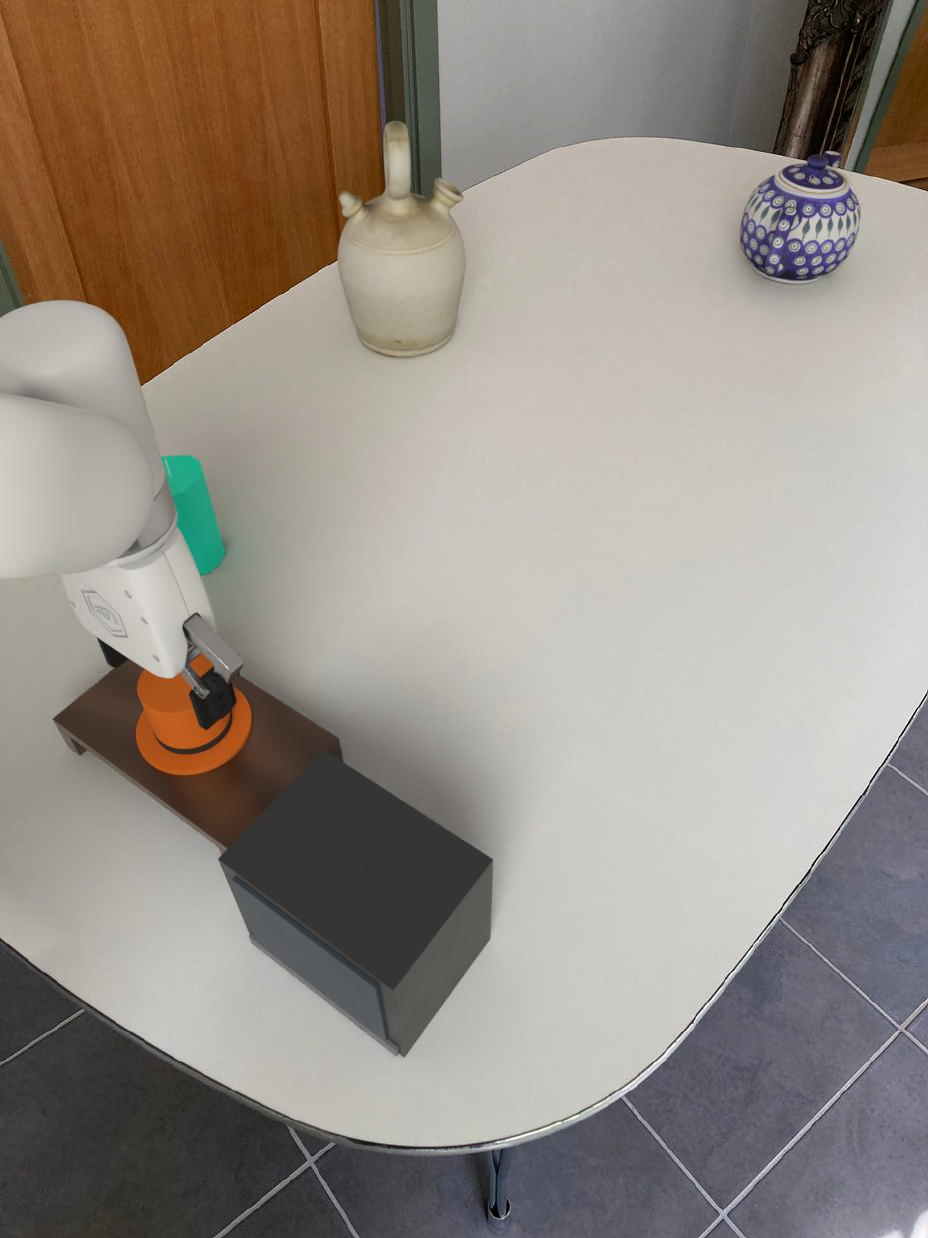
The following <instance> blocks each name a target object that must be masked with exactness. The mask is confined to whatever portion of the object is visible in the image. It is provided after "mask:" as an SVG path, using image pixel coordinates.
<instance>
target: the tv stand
mask: <svg viewBox="0 0 928 1238" xmlns="http://www.w3.org/2000/svg"><path fill="white" fill-rule="evenodd" d="M187 643H188V649H189V648H190V647H192V646H193V644H192V643H191V642H190V641H187ZM143 670H144V668H143V667H141V666H140V665H138V664H137V663H135V662H134V661H132V660H130V659H128V660H127V661H126V662H125V663H123V664H122V665H121V666H119V667H118V668H112V670H110V671H109V672H108V673H107V674H105V675H104V676H103V677H101V679H98V681H97V682H96V683H94V684H93V685H92V686H90V687H89V688H88V689H86V691H84V692H83V693H82V694H81V695H80V696H79V697H77V698H75V699H74V700H73V701H72V702H71V703H70V704H68V705H67V706H66V707H65V708H63V709H62V710H61V711H60V712H59V713H57V714H56V715H55V716H54V717H53V718H52V721H53V723H54V725H55V726H56V728H57V730H58V731H59V734H60V735H61V737H62V739H63V741H64V742H65V745H66V746H67V748H69V749H71V750H72V751H73V752H74V753H76V754H77V755H78V756H82V755H83V754H84V753H85V752H86V751H88V752H90V754H92V755H94V756H95V757H96V758H98V759H99V760H100V761H102V762H103V763H105V764H106V765H107V766H108V767H110V768H111V769H113V770H114V771H115V772H117V773H118V774H119V775H120V776H122V777H123V778H124V779H126V780H127V781H129V782H130V783H131V784H133V785H134V786H135V787H137V788H138V789H139V790H140V791H142V792H143V793H145V794H146V795H147V796H149V797H150V798H151V799H153V800H154V801H155V802H157V803H158V804H160V806H162V807H164V808H165V809H166V810H167V811H169V812H170V813H172V814H173V815H174V816H175V817H177V818H178V819H179V820H181V821H182V822H184V823H185V824H186V825H188V826H189V827H190V828H192V829H193V830H194V831H195V832H197V833H198V834H200V835H201V836H202V837H204V838H205V839H207V840H208V841H209V842H210V843H212V844H213V845H215V847H217V848H218V850H219V853H220V856H221V855H222V854H223V853H224V852H225V851H226V850H227V849H228V848H229V847H230V846H231V845H232V844H233V843H234V842H235V841H236V840H237V839H238V838H239V837H240V836H241V835H242V834H243V833H244V832H245V831H246V830H247V829H248V827H249V826H250V825H251V824H252V823H253V822H254V821H255V820H256V819H257V818H258V817H259V816H260V815H261V814H262V813H263V812H264V811H265V810H266V809H267V808H268V807H269V806H270V805H271V804H272V803H273V802H274V801H275V800H276V799H277V798H278V797H279V796H280V795H281V794H282V792H283V791H284V790H285V789H286V788H287V787H288V786H289V785H290V784H291V783H292V782H293V781H294V780H295V779H296V778H297V777H298V776H299V775H300V774H301V773H302V772H303V771H304V770H305V769H306V768H307V767H308V766H309V765H310V764H311V763H312V762H313V761H314V760H315V759H316V757H317V756H318V755H319V754H320V753H321V752H322V751H323V750H325V751H327V752H328V753H330V754H331V755H333V756H334V757H336V758H338V759H339V760H341V761H342V762H344V761H345V760H344V756H343V750H342V747H341V746H342V745H341V739H340V737H338V736H336V735H335V734H334V733H332V732H330V731H329V730H327V729H326V728H324V727H322V726H321V725H319V724H317V722H314V721H312V720H311V719H310V718H308V717H307V716H305V715H303V714H301V712H299V711H297V710H296V709H294V708H292V707H291V706H289V705H288V704H286V703H285V702H283V701H282V700H280V699H278V698H276V697H275V696H273V694H270V693H269V692H268V691H266V690H264V689H262V688H261V687H259V686H258V685H256V684H255V683H253V682H252V681H250V680H249V679H248V678H245V677H244V676H242V675H241V674H240V675H238V676H237V677H236V678H235V679H234V680H233V681H232V685H233V686H234V687H235V688H237V689H238V690H239V691H240V692H241V693H242V694H243V695H244V696H245V697H246V699H247V701H248V703H249V705H250V708H251V712H252V727H251V731H250V734H249V737H248V739H247V741H246V742H245V744H244V745H243V747H242V748H241V749H240V751H239V752H238V753H237V754H236V755H235V756H233V757H232V758H231V759H230V760H229V761H227V762H226V763H224V764H223V765H221V766H219V767H217V768H215V769H212V770H210V771H207V772H204V773H199V774H194V775H175V774H170V773H166V772H163V771H161V770H158V769H157V768H155V767H153V766H152V765H151V764H149V763H148V762H147V761H146V760H145V758H144V757H143V756H142V754H141V752H140V750H139V747H138V745H137V740H136V728H137V724H138V721H139V718H140V716H141V714H142V712H143V711H144V708H143V706H142V703H141V701H140V699H139V696H138V692H137V684H138V680H139V677H140V675H141V673H142V672H143ZM344 763H345V762H344Z"/></svg>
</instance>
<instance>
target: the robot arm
mask: <svg viewBox="0 0 928 1238" xmlns="http://www.w3.org/2000/svg"><path fill="white" fill-rule="evenodd" d="M176 524H177V511H176V507H175V504H174V500H173V497H172V493H171V490H170V486H169V483H168V479H167V476H166V473H165V470H164V466H163V463H162V459H161V453H160V449H159V446H158V442H157V439H156V435H155V431H154V428H153V424H152V421H151V417H150V413H149V409H148V407H147V402H146V399H145V395H144V393H143V389H142V385H141V382H140V377H139V375H138V372H137V368H136V364H135V361H134V358H133V354H132V350H131V348H130V345H129V342H128V339H127V336H126V334H125V332H124V330H123V328H122V326H121V325H120V324H119V323H118V321H117V320H116V319H115V318H114V317H113V316H112V315H111V314H109V313H108V312H107V311H105V310H104V309H103V308H101V307H99V306H96V305H93V304H90V303H87V302H85V301H78V300H70V299H56V300H54V299H53V300H45V301H39V302H35V303H31V304H27V305H24V306H21V307H19V308H16V309H13V310H11V311H9V312H8V313H5V314H4V315H3V316H1V317H0V580H12V579H13V580H15V579H31V578H42V577H50V576H59V577H60V580H61V582H62V585H63V588H64V590H65V594H66V597H67V598H68V602H69V603H70V606H71V609H72V611H73V613H74V615H75V618H76V620H77V621H78V622H79V623H80V625H81V626H82V627H83V628H84V629H86V630H87V631H88V632H89V633H91V634H92V635H93V636H95V637H96V639H97V641H98V644H99V646H100V650H101V651H102V654H103V656H104V658H105V660H106V663H107V665H108V666H110V667H111V668H112V669H114V668H118V667H119V666H121V665H122V664H123V663H125V662H126V661H127V660H128V659H130V660H132V661H134V662H135V663H137V664H138V665H140V666H141V667H143V668H144V669H146V670H148V671H149V672H151V673H153V674H154V675H156V676H159V677H162V678H174V677H175V676H176V675H178V674H179V673H180V674H181V675H182V676H183V678H184V679H185V680H186V682H187V683H188V684H189V685H190V687H191V688H192V690H191V691H190V692H189V697H190V700H191V703H192V706H193V709H194V711H195V714H196V717H197V720H198V723H199V726H200V727H202V728H203V729H204V730H208V729H209V728H211V727H212V726H213V725H214V724H215V723H216V722H217V721H218V720H219V719H223V718H224V717H225V716H226V715H227V714H229V713H230V711H231V710H232V708H233V707H234V706H235V704H236V702H237V699H236V696H235V692H234V689H233V685H232V681H233V680H234V679H235V678H236V677H237V676H238V675H241V670H242V669H243V667H244V665H245V662H244V659H243V658H242V657H241V655H240V654H238V653H237V652H236V651H235V650H234V648H233V647H232V646H230V645H229V644H228V643H227V642H226V641H225V640H224V639H223V638H222V637H221V636H220V634H218V628H217V622H216V618H215V614H214V610H213V606H212V604H211V601H210V598H209V595H208V592H207V590H206V587H205V584H204V582H203V581H204V580H203V579H202V575H200V573H199V571H198V568H197V566H196V564H195V561H194V559H193V557H192V554H191V552H190V550H189V548H188V546H187V544H186V542H185V540H184V537H183V535H182V533H181V531H180V530H179V528H178V527H177V526H176ZM187 642H189V643H190V644H192V645H193V646H192V647H190V648H189V649H188V643H187ZM201 653H202V654H203V655H204V656H205V657H206V658H207V659H208V660H209V661H210V662H211V663H212V664H213V667H212V668H211V669H209V670H208V671H207V672H206V673H205V674H204V675H202V676H201V677H200V676H199V675H198V674H197V672H196V671H195V670H194V669H193V667H192V666H191V665H190V664H189V663H191V662H192V661H193V660H194V659H195V658H197V657H198V656H199V655H200V654H201Z"/></svg>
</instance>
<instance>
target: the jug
mask: <svg viewBox="0 0 928 1238" xmlns="http://www.w3.org/2000/svg"><path fill="white" fill-rule="evenodd" d="M383 129H384V130H383V163H384V180H385V189H384V191H383V193H382V194H381V195H378V196H376V197H374V198H372V199H370V200H369V201H367V202H365V203H364V199H363V198H362V196H360V195H354V194H353V193H351V192H349V191H347V190H343V191H340V193H339V195H338V200H339V203H340V205H341V207H342V209H341V213H342V216H343V217H345V218H348V219H347V221H346V223H345V225H344V227H343V230H342V232H341V234H340V238H339V241H338V248H337V270H338V274H339V279H340V282H341V287H342V290H343V293H344V297H345V300H346V303H347V304H346V305H347V307H348V310H349V314H350V316H351V320H352V322H353V325H354V327H355V329H356V331H357V335H358V338H359V340H360V342H361V343H362V345H363V346H364V347H366V348H367V349H369V350H371V351H372V352H375V353H377V354H380V355H382V356H386V357H393V358H411V357H418V356H423V355H426V354H430V353H432V352H435V351H436V350H438V349H440V348H442V347H443V346H444V345H446V344H447V343H448V342H449V341H450V340H451V338H452V337H453V335H454V331H455V326H456V323H457V321H458V320H457V319H458V313H459V307H460V301H461V297H462V293H463V287H464V282H465V276H466V267H467V263H466V261H467V260H466V258H467V257H466V249H465V248H466V247H465V242H464V239H463V236H462V233H461V230H460V228H459V226H458V224H457V222H456V221H455V219H454V218H453V217H452V215H451V214H450V210H451V209H452V208H454V207H455V206H456V205H457V204H459V203H461V202H463V200H464V195H463V193H462V192H461V190H460V189H459V188H458V187H456V185H454V184H453V183H451V182H449V181H448V180H446V179H445V178H443V177H436V178H435V179H434V186H433V189H432V194H431V195H430V196H428V197H425V196H423V195H421V194H418V193H413V192H411V185H412V179H411V178H412V177H411V171H412V169H411V166H412V165H411V144H410V137H409V130H408V126H407V125H406V124H405V123H404V122H402V121H400V120H392V121H389V122H386V124H385V126H384V128H383Z"/></svg>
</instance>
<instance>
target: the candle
mask: <svg viewBox="0 0 928 1238" xmlns="http://www.w3.org/2000/svg"><path fill="white" fill-rule="evenodd" d="M160 456H161V455H160ZM161 459H162V463H163V466H164V470H165V473H166V476H167V479H168V483H169V486H170V490H171V493H172V497H173V500H174V504H175V507H176V511H177V524H176V526H177V527H178V528H179V530H180V531H181V533H182V535H183V537H184V540H185V542H186V544H187V546H188V548H189V550H190V552H191V554H192V557H193V559H194V561H195V564H196V566H197V568H198V571H199V573H200V576H204V575H207V574H210V572H213V570H214V569H216V568H217V567H219V566H220V565H221V563H222V562H223V559H224V558H225V555H226V551H225V547H224V543H223V540H222V539H223V538H222V536H221V531H220V528H219V524H218V521H217V518H216V514H215V509H214V505H213V502H212V499H211V495H210V491H209V488H208V484H207V480H206V477H205V473H204V470H203V466H202V463H201V460H200V459H198V458H196V457H195V456H193V455H191V454H178V455H163V456H161Z"/></svg>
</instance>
